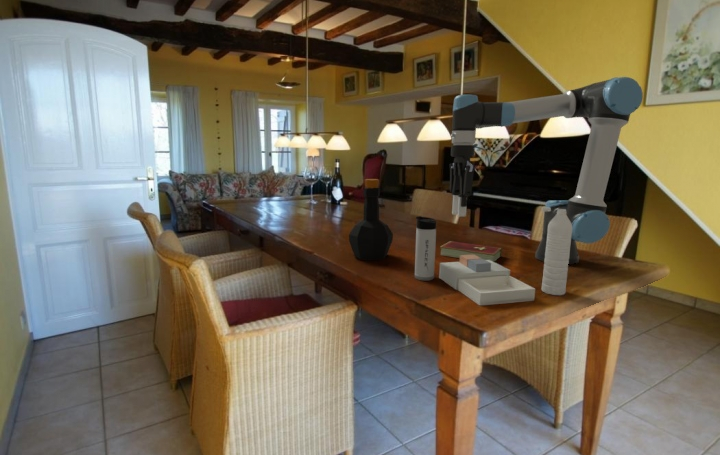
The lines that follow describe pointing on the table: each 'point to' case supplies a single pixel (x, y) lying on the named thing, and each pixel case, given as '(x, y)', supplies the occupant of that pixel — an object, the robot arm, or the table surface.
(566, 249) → the water bottle
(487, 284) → the tray
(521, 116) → the robot arm
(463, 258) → the terracotta tile
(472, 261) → the slate tile
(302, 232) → the table surface
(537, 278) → the table surface
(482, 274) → the white box
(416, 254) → the travel mug
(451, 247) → the hardcover book
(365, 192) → the bottle
